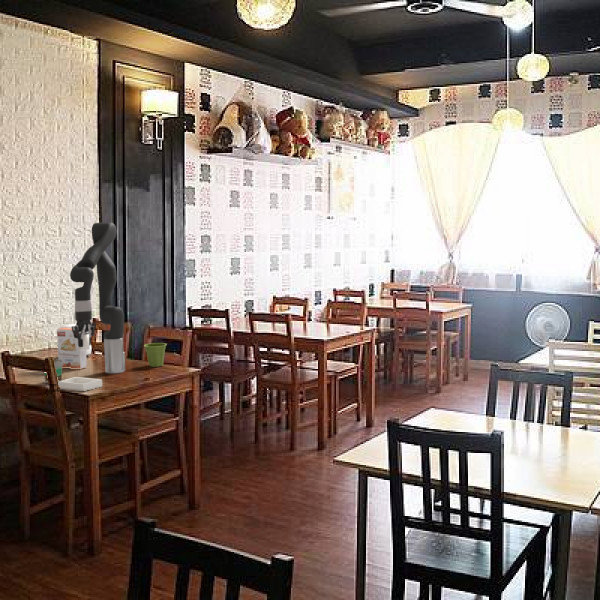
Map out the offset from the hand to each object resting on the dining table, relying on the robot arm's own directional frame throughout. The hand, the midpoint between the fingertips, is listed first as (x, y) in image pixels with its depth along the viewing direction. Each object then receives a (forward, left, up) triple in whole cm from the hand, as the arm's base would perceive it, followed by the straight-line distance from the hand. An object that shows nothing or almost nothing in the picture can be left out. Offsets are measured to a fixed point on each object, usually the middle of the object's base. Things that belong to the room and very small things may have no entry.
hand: (84, 346), depth 364 cm
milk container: (-54, -57, -18) cm, 81 cm away
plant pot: (-49, +3, -18) cm, 52 cm away
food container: (+4, -15, -18) cm, 24 cm away
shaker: (0, 0, -1) cm, 1 cm away
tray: (+10, +5, -18) cm, 21 cm away
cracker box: (-27, -34, -18) cm, 47 cm away
